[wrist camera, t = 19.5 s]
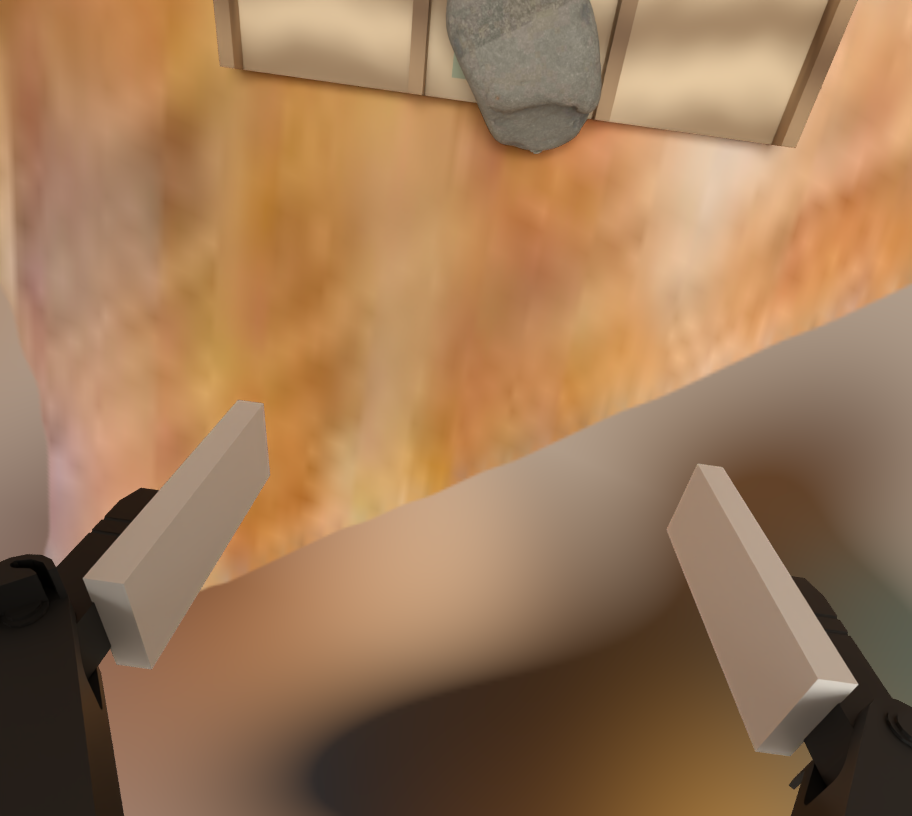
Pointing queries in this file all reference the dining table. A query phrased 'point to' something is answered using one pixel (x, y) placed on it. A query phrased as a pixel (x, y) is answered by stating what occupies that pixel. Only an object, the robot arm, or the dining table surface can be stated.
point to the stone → (529, 66)
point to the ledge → (621, 55)
